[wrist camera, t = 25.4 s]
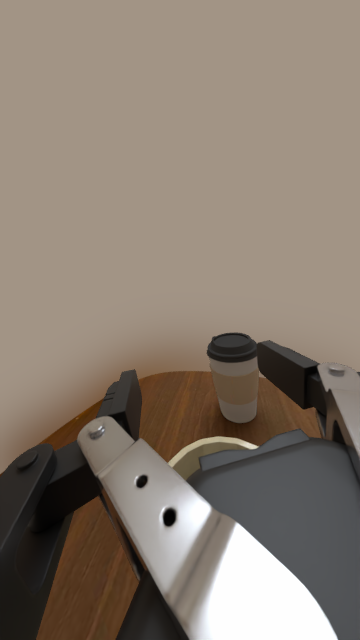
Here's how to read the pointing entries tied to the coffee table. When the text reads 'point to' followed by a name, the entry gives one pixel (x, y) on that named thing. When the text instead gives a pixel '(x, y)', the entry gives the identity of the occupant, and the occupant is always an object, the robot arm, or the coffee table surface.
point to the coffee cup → (235, 375)
